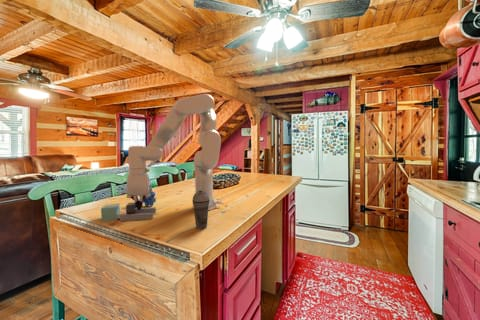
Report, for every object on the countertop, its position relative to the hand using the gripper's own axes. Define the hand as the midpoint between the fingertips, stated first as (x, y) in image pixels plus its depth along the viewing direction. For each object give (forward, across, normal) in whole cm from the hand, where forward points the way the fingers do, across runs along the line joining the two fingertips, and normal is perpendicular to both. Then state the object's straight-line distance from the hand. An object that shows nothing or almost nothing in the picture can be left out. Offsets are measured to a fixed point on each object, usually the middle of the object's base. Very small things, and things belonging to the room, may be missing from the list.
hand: (139, 209), depth 111 cm
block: (+4, +13, 0) cm, 13 cm away
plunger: (+3, +6, 0) cm, 7 cm away
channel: (+4, 0, 0) cm, 4 cm away
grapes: (+4, 0, -18) cm, 18 cm away
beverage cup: (+4, -29, +21) cm, 36 cm away
